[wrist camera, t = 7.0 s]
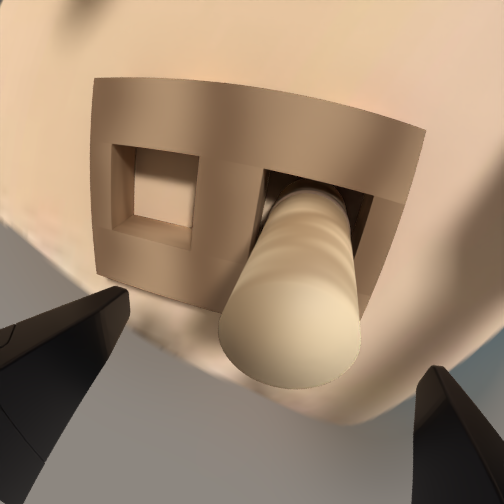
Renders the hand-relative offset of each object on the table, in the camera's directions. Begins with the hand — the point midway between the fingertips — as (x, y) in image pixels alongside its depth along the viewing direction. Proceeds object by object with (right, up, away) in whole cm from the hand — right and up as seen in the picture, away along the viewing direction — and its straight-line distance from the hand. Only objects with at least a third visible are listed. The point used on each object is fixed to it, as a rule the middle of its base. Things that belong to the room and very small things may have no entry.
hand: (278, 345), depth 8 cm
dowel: (+2, +5, +9) cm, 10 cm away
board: (-2, +5, +9) cm, 11 cm away
